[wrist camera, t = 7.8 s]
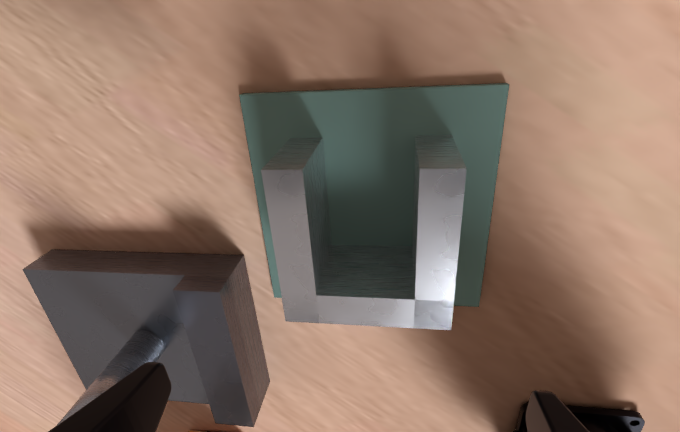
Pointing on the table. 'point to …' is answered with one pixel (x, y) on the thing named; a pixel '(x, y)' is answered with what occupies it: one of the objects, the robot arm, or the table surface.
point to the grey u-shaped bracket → (364, 260)
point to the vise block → (158, 324)
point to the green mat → (385, 160)
